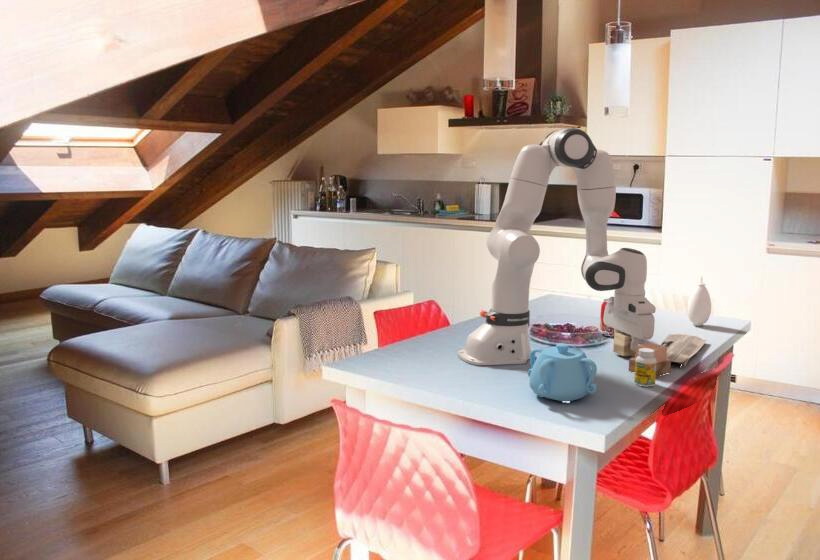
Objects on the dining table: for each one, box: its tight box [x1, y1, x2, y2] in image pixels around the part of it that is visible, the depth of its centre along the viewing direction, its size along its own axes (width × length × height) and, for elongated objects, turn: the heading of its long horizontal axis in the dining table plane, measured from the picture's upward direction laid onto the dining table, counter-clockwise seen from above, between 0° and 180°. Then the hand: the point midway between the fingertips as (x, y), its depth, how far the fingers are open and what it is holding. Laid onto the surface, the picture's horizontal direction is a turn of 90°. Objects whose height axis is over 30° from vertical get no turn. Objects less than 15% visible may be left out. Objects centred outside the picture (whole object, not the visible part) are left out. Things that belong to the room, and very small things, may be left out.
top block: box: [635, 342, 667, 364], centre depth 199 cm, size 6×6×4 cm
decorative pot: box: [527, 342, 598, 402], centre depth 180 cm, size 16×16×14 cm
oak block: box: [612, 332, 639, 357], centre depth 215 cm, size 5×5×6 cm
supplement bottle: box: [633, 348, 656, 387], centre depth 189 cm, size 5×5×10 cm
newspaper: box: [660, 333, 708, 369], centre depth 219 cm, size 35×12×4 cm, turn 151°
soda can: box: [599, 298, 615, 338], centre depth 239 cm, size 7×7×12 cm
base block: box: [628, 356, 672, 378], centre depth 200 cm, size 8×8×4 cm
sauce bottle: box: [687, 276, 712, 327], centre depth 252 cm, size 8×8×18 cm
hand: (625, 346), depth 216 cm, fingers closed on oak block, 5 cm apart
